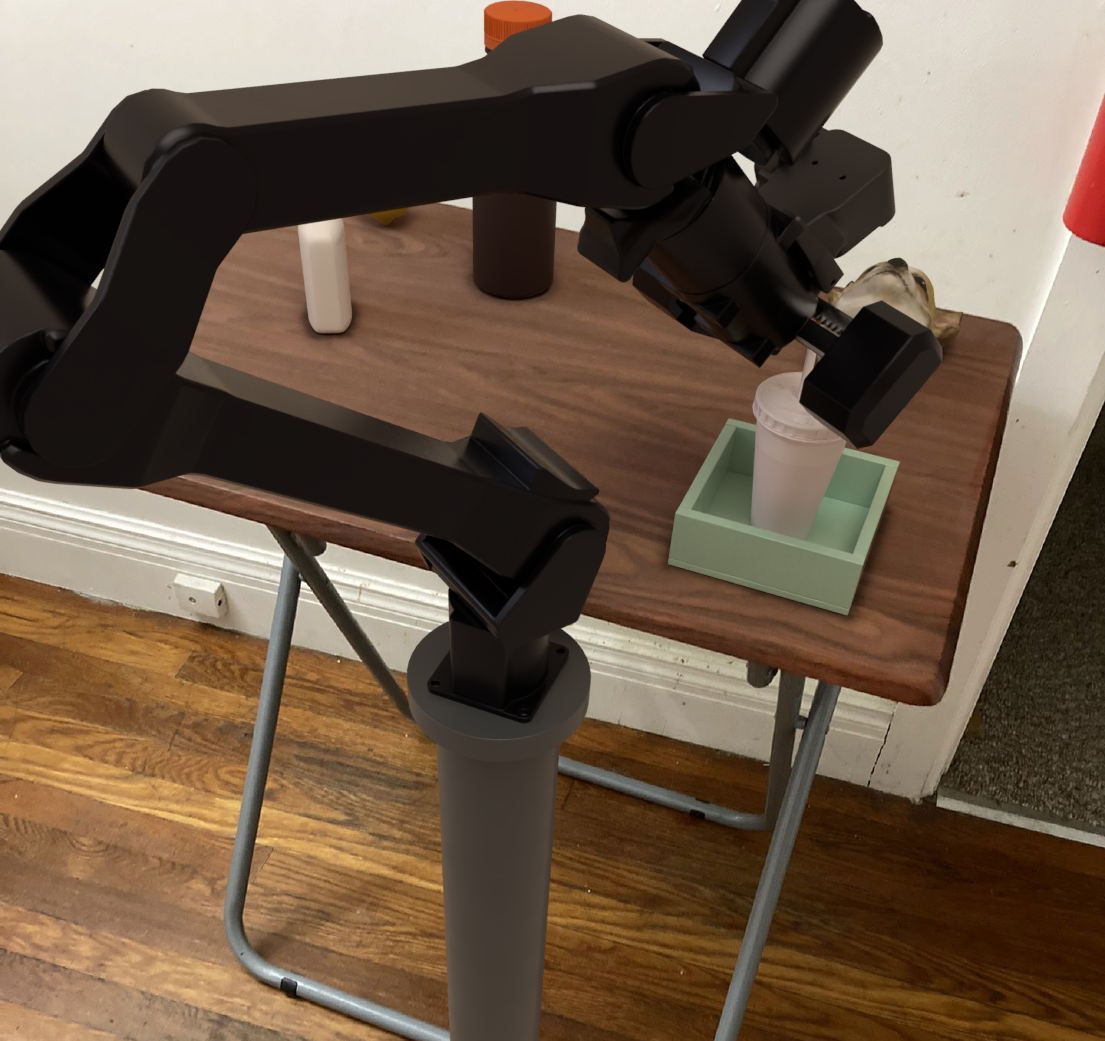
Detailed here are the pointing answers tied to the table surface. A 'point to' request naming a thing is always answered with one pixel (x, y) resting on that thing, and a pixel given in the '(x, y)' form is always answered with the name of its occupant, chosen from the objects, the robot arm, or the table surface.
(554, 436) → the table surface
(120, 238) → the robot arm
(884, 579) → the table surface
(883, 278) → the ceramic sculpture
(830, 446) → the smoothie
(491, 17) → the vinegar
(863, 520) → the open box
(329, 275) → the eye dropper bottle
